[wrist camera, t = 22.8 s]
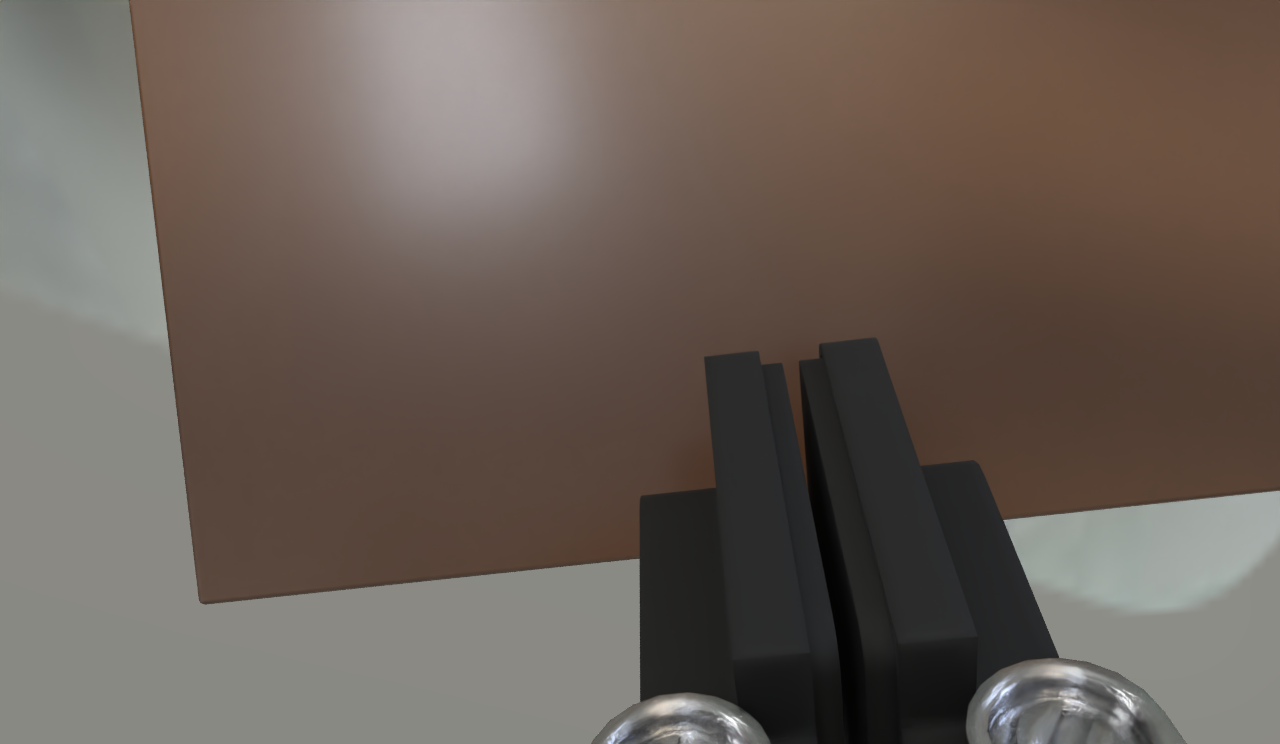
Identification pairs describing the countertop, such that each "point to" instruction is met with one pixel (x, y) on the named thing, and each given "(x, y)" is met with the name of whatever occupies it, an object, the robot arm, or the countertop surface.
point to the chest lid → (693, 257)
